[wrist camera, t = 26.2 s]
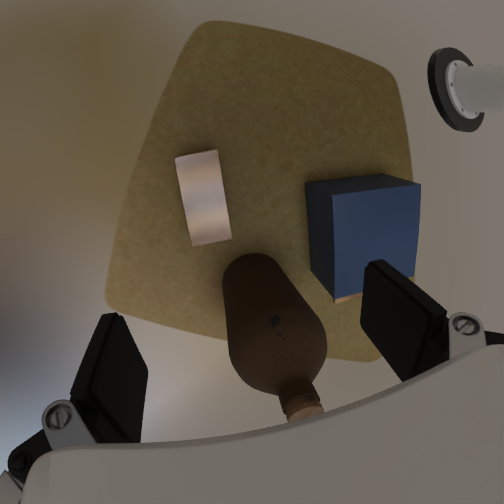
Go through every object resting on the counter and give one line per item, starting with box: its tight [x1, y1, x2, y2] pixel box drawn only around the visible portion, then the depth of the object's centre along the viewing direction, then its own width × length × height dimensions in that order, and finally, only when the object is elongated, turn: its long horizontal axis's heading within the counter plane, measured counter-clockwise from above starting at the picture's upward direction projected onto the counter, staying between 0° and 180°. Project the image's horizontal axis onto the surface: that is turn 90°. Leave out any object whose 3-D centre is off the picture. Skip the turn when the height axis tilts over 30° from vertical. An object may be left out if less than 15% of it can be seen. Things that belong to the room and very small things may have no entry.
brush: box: [174, 149, 232, 247], centre depth 34 cm, size 11×5×5 cm, turn 8°
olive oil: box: [222, 254, 327, 423], centre depth 32 cm, size 11×11×25 cm
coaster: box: [333, 293, 360, 304], centre depth 46 cm, size 5×5×1 cm
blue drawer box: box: [305, 174, 421, 300], centre depth 38 cm, size 15×14×9 cm
